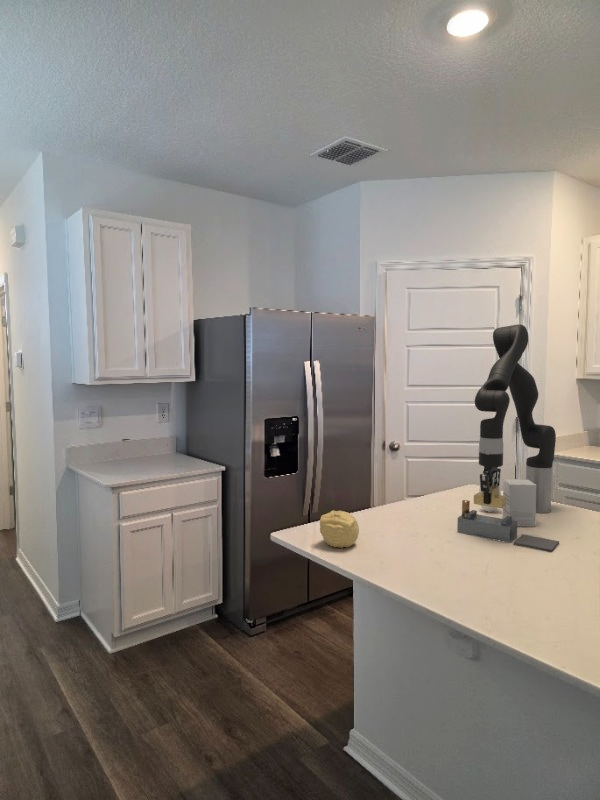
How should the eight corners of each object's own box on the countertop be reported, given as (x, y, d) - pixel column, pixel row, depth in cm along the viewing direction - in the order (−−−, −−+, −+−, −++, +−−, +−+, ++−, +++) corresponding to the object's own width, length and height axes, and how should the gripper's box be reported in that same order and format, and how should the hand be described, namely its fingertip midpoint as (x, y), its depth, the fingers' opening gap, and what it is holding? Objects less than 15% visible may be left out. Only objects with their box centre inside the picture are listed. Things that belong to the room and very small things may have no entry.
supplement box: (527, 519, 192) (528, 479, 191) (535, 527, 184) (537, 484, 182) (501, 518, 193) (502, 478, 192) (508, 526, 184) (510, 483, 183)
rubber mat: (522, 536, 173) (522, 534, 173) (559, 543, 166) (559, 541, 166) (513, 544, 165) (513, 542, 165) (551, 552, 159) (551, 549, 159)
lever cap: (478, 500, 179) (479, 483, 179) (506, 505, 174) (506, 487, 173) (473, 503, 175) (474, 486, 175) (501, 508, 170) (501, 490, 169)
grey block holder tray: (466, 526, 184) (466, 498, 183) (516, 536, 173) (517, 506, 173) (457, 532, 178) (458, 502, 177) (509, 542, 167) (510, 511, 166)
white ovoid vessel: (474, 509, 205) (475, 463, 204) (491, 508, 208) (492, 462, 206) (487, 515, 198) (488, 467, 197) (504, 513, 200) (505, 466, 199)
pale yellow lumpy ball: (315, 547, 162) (315, 513, 161) (330, 536, 173) (330, 503, 172) (350, 553, 157) (350, 518, 156) (363, 541, 168) (364, 508, 167)
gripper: (486, 447, 181) (485, 495, 182) (471, 452, 170) (470, 504, 171) (509, 449, 177) (508, 499, 178) (495, 455, 165) (494, 508, 166)
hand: (489, 501), depth 174 cm, fingers closed on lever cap, 5 cm apart
